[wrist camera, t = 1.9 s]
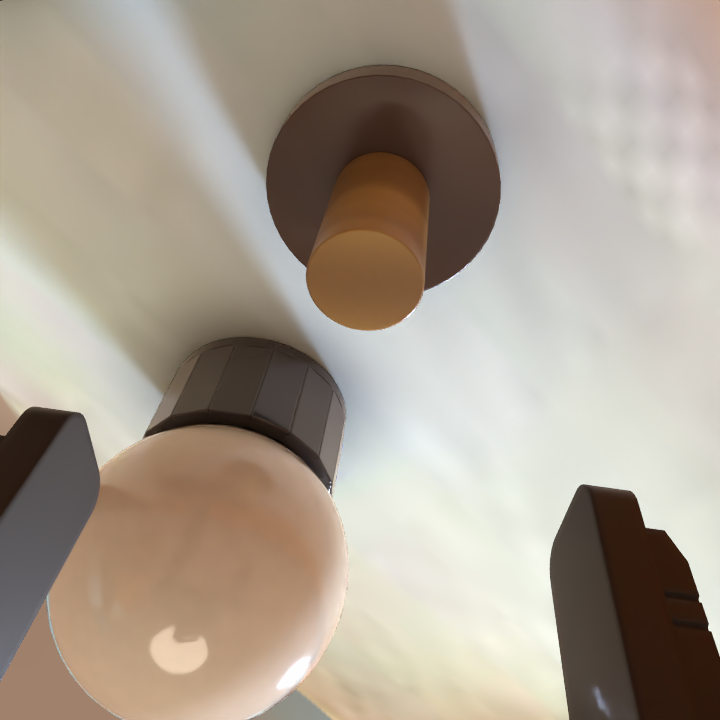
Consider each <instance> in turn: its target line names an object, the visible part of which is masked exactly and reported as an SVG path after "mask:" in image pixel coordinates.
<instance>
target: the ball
mask: <svg viewBox="0 0 720 720" xmlns="http://www.w3.org/2000/svg"><path fill="white" fill-rule="evenodd" d="M99 474H100V490H99V495H98V499H97V502H96V505H95V508H94V510H93V512H92V514H91V516H90V518H89V519H88V521H87V523H86V525H85V527H84V529H83V530H82V532H81V534H80V536H79V538H78V540H77V542H76V543H75V545H74V547H73V549H72V551H71V553H70V554H69V556H68V558H67V560H66V562H65V564H64V565H63V567H62V569H61V571H60V573H59V575H58V576H57V578H56V580H55V582H54V584H53V586H52V587H51V589H50V591H49V593H48V595H47V597H46V605H47V613H48V618H49V625H50V629H51V632H52V635H53V638H54V640H55V644H56V647H57V649H58V652H59V654H60V656H61V658H62V660H63V661H64V663H65V665H66V667H67V669H68V670H69V672H70V674H71V675H72V677H73V678H74V679H75V680H76V681H77V683H78V684H79V685H80V686H81V687H82V688H83V690H84V691H85V692H86V693H87V694H88V695H89V696H90V697H91V698H92V699H93V700H94V701H96V702H97V703H98V704H100V705H101V706H102V707H103V708H105V709H106V710H107V711H109V712H110V713H112V714H113V715H115V716H117V717H119V718H120V719H123V720H251V719H253V718H255V717H257V716H259V715H260V714H262V713H264V712H266V711H268V710H270V709H271V708H272V707H274V706H275V705H276V704H278V703H279V702H280V701H282V700H283V699H284V698H286V697H287V696H288V695H289V694H291V693H292V692H293V691H294V690H295V689H296V688H297V687H298V686H299V685H300V684H301V683H302V682H303V681H304V680H305V679H306V678H307V676H308V675H309V674H310V673H311V672H312V670H313V669H314V668H315V666H316V665H317V664H318V662H319V661H320V659H321V658H322V657H323V655H324V653H325V651H326V649H327V647H328V645H329V643H330V642H331V640H332V638H333V636H334V634H335V632H336V629H337V626H338V624H339V621H340V618H341V615H342V611H343V607H344V603H345V598H346V594H347V589H348V574H349V559H348V547H347V541H346V537H345V532H344V528H343V524H342V520H341V518H340V515H339V513H338V510H337V508H336V506H335V503H334V501H333V499H332V497H331V495H330V493H329V492H328V490H327V489H326V487H325V486H324V484H323V483H322V481H321V480H320V478H319V477H318V476H317V474H316V473H315V472H314V471H313V470H312V468H310V467H309V466H308V465H307V464H306V463H305V462H304V461H303V460H302V459H301V458H300V457H299V456H298V455H297V454H295V453H294V452H293V451H291V450H290V449H289V448H287V447H286V446H284V445H282V444H281V443H279V442H277V441H275V440H273V439H271V438H269V437H267V436H265V435H262V434H260V433H257V432H254V431H251V430H248V429H244V428H240V427H235V426H229V425H220V424H199V425H190V426H182V427H177V428H173V429H168V430H166V431H163V432H160V433H157V434H154V435H152V436H149V437H146V438H144V439H142V440H140V441H138V442H137V443H135V444H133V445H131V446H129V447H128V448H126V449H124V450H122V451H121V452H119V453H118V454H117V455H116V456H114V457H113V458H112V459H111V460H109V461H108V462H107V463H106V464H104V465H103V466H102V467H101V468H100V469H99Z"/></svg>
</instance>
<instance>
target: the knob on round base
mask: <svg viewBox="0 0 720 720" xmlns="http://www.w3.org/2000/svg"><path fill="white" fill-rule="evenodd" d="M266 189H267V199H268V204H269V208H270V213H271V215H272V218H273V221H274V224H275V226H276V228H277V230H278V232H279V234H280V236H281V238H282V239H283V241H284V242H285V244H286V245H287V247H288V248H289V250H290V251H291V252H292V253H293V254H294V256H295V257H296V258H297V259H298V260H299V261H300V262H301V263H302V264H303V265H304V266H305V267H307V270H306V282H307V287H308V290H309V293H310V295H311V297H312V299H313V301H314V303H315V304H316V306H317V307H318V308H319V309H320V310H321V311H322V312H323V313H324V314H325V315H326V316H327V317H329V318H330V319H331V320H333V321H335V322H337V323H338V324H341V325H343V326H345V327H349V328H352V329H357V330H366V331H371V330H381V329H385V328H389V327H391V326H394V325H396V324H398V323H400V322H402V321H403V320H404V319H406V318H407V317H408V316H409V315H410V314H412V312H413V311H414V310H415V309H416V308H417V306H418V304H419V303H420V300H421V298H422V295H423V291H425V290H428V289H430V288H433V287H435V286H438V285H440V284H442V283H443V282H445V281H447V280H449V279H450V278H452V277H453V276H455V275H456V274H458V273H459V272H460V271H462V270H463V269H464V268H465V267H466V266H467V265H468V264H469V263H470V262H471V261H472V260H473V259H474V258H475V257H476V255H477V254H478V253H479V252H480V251H481V249H482V247H483V246H484V244H485V243H486V241H487V240H488V238H489V236H490V233H491V231H492V229H493V227H494V224H495V221H496V218H497V214H498V210H499V204H500V194H501V182H500V173H499V166H498V159H497V154H496V150H495V146H494V143H493V140H492V138H491V135H490V133H489V131H488V128H487V126H486V125H485V123H484V121H483V120H482V118H481V116H480V115H479V113H478V112H477V111H476V110H475V108H474V107H473V106H472V105H471V104H470V102H469V101H468V100H467V99H465V98H464V97H463V96H462V95H461V94H460V93H459V92H458V91H457V90H455V89H454V88H452V87H451V86H449V85H448V84H446V83H445V82H444V81H442V80H440V79H438V78H436V77H434V76H432V75H430V74H427V73H424V72H421V71H418V70H415V69H411V68H406V67H400V66H389V65H376V66H366V67H361V68H356V69H352V70H348V71H346V72H343V73H341V74H338V75H335V76H333V77H331V78H330V79H328V80H326V81H324V82H323V83H321V84H319V85H318V86H317V87H315V88H314V89H313V90H312V91H310V92H309V93H308V94H307V95H306V96H305V97H304V98H303V99H302V100H301V101H300V102H299V103H298V104H297V105H296V107H295V108H294V109H293V111H292V112H291V114H290V115H289V116H288V118H287V120H286V121H285V123H284V125H283V126H282V128H281V130H280V132H279V134H278V136H277V138H276V139H275V142H274V144H273V147H272V150H271V153H270V156H269V161H268V167H267V177H266Z"/></svg>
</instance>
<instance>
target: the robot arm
mask: <svg viewBox="0 0 720 720" xmlns="http://www.w3.org/2000/svg"><path fill="white" fill-rule="evenodd" d="M99 490H100V474H99V469H98V465H97V462H96V458H95V454H94V450H93V446H92V442H91V439H90V435H89V431H88V427H87V423H86V420H85V418H84V416H83V415H82V414H81V413H78V412H70V411H63V410H56V409H49V408H41V407H31V408H29V409H27V410H26V411H25V412H24V413H23V414H22V415H21V416H20V418H19V419H18V420H17V421H16V423H15V424H14V425H13V427H12V428H11V429H10V431H9V432H8V433H7V435H6V436H1V435H0V681H1V679H2V678H3V675H4V674H5V672H6V670H7V668H8V667H9V665H10V663H11V661H12V659H13V657H14V655H15V654H16V652H17V650H18V648H19V646H20V644H21V643H22V641H23V639H24V637H25V635H26V633H27V632H28V630H29V628H30V626H31V624H32V622H33V621H34V619H35V617H36V615H37V613H38V611H39V610H40V608H41V606H42V604H43V602H44V600H45V599H46V597H47V595H48V593H49V591H50V589H51V587H52V586H53V584H54V582H55V580H56V578H57V576H58V575H59V573H60V571H61V569H62V567H63V565H64V564H65V562H66V560H67V558H68V556H69V554H70V553H71V551H72V549H73V547H74V545H75V543H76V542H77V540H78V538H79V536H80V534H81V532H82V530H83V529H84V527H85V525H86V523H87V521H88V519H89V518H90V516H91V514H92V512H93V510H94V508H95V505H96V502H97V499H98V495H99ZM550 581H551V588H552V596H553V603H554V610H555V617H556V625H557V632H558V639H559V647H560V654H561V661H562V669H563V676H564V683H565V690H566V698H567V705H568V712H569V720H720V656H719V653H718V650H717V647H716V644H715V641H714V638H713V635H712V632H710V631H709V630H708V625H709V623H708V620H707V617H706V614H705V611H704V608H703V605H702V603H699V594H698V591H697V588H696V585H695V582H694V579H693V576H692V573H691V570H690V567H689V564H688V561H687V560H686V559H685V557H684V556H683V555H682V553H681V552H680V551H679V549H678V548H677V547H676V545H675V544H674V543H673V541H672V540H671V539H670V537H669V536H668V535H667V533H666V532H665V531H664V530H656V529H649V528H645V525H644V521H643V518H642V515H641V511H640V508H639V504H638V501H637V498H636V497H635V495H634V494H633V493H632V492H631V491H627V490H620V489H613V488H606V487H598V486H591V485H584V484H583V485H581V486H579V488H578V489H577V491H576V493H575V495H574V497H573V499H572V502H571V504H570V506H569V508H568V510H567V513H566V515H565V517H564V519H563V522H562V524H561V526H560V528H559V530H558V533H557V535H556V537H555V539H554V542H553V546H552V550H551V557H550Z"/></svg>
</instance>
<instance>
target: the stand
mask: <svg viewBox="0 0 720 720" xmlns="http://www.w3.org/2000/svg"><path fill="white" fill-rule="evenodd" d="M345 422H346V409H345V403H344V400H343V397H342V394H341V392H340V390H339V388H338V386H337V385H336V383H335V382H334V380H333V379H332V378H331V376H330V375H329V374H328V373H327V372H326V371H325V370H324V369H323V368H322V367H321V366H320V365H318V364H317V363H316V362H315V361H314V360H312V359H311V358H309V357H308V356H306V355H305V354H303V353H301V352H299V351H297V350H295V349H293V348H290V347H288V346H285V345H283V344H280V343H276V342H273V341H269V340H263V339H257V338H230V339H223V340H220V341H216V342H212V343H210V344H208V345H205V346H203V347H201V348H200V349H198V350H196V351H195V352H193V353H192V354H191V355H190V356H189V357H188V358H187V359H186V360H185V361H184V362H183V364H182V365H181V367H180V368H179V369H178V371H177V373H176V374H175V376H174V378H173V380H172V382H171V384H170V386H169V388H168V390H167V392H166V394H165V396H164V398H163V399H162V401H161V403H160V405H159V407H158V409H157V411H156V413H155V415H154V417H153V419H152V421H151V423H150V425H149V426H148V428H147V430H146V432H145V434H144V437H143V439H144V438H146V437H149V436H152V435H154V434H157V433H160V432H163V431H166V430H168V429H173V428H177V427H182V426H190V425H199V424H220V425H229V426H235V427H240V428H244V429H248V430H251V431H254V432H257V433H260V434H262V435H265V436H267V437H269V438H271V439H273V440H275V441H277V442H279V443H281V444H282V445H284V446H286V447H287V448H289V449H290V450H291V451H293V452H294V453H295V454H297V455H298V456H299V457H300V458H301V459H302V460H303V461H304V462H305V463H306V464H307V465H308V466H309V467H310V468H312V470H313V471H314V472H315V473H316V474H317V476H318V477H319V478H320V480H321V481H322V483H323V484H324V486H325V487H326V489H327V490H328V492H329V493H330V495H331V497H332V499H333V493H334V488H335V482H336V477H337V471H338V466H339V460H340V455H341V449H342V444H343V437H344V427H345Z"/></svg>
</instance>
